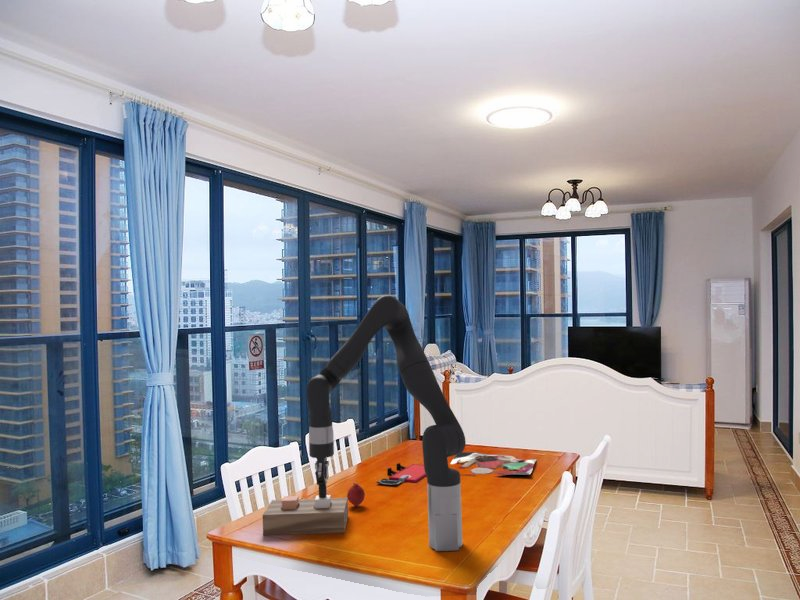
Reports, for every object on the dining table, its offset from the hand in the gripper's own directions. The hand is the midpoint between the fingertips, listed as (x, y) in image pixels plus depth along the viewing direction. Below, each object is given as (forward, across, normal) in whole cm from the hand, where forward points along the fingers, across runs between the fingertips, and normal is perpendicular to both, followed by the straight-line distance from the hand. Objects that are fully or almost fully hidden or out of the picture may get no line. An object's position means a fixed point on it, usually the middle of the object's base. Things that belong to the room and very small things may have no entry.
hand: (322, 496), depth 187 cm
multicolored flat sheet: (+9, +65, -62) cm, 90 cm away
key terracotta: (+4, 0, +10) cm, 11 cm away
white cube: (+4, 0, 0) cm, 4 cm away
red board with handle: (+9, +53, -26) cm, 59 cm away
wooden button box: (+9, 0, +5) cm, 10 cm away
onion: (+9, +17, -9) cm, 21 cm away
